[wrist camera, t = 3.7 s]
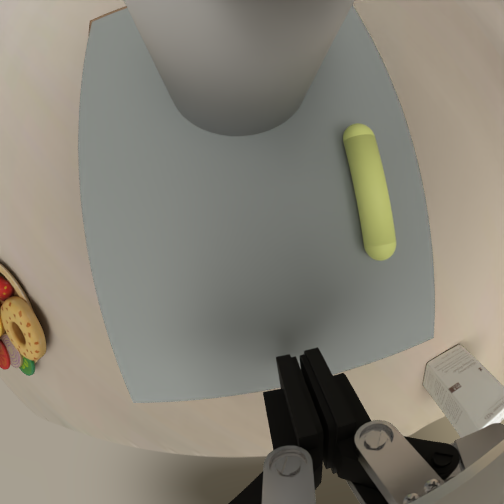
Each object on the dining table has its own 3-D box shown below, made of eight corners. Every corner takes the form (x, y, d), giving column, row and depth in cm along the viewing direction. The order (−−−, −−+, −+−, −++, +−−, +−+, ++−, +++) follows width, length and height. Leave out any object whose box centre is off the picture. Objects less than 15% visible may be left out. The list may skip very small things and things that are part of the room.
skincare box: (459, 341, 25) (518, 394, 13) (454, 366, 26) (504, 418, 14) (424, 363, 25) (481, 429, 13) (420, 387, 26) (468, 449, 14)
